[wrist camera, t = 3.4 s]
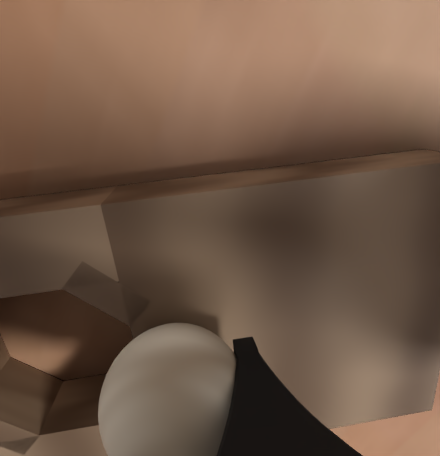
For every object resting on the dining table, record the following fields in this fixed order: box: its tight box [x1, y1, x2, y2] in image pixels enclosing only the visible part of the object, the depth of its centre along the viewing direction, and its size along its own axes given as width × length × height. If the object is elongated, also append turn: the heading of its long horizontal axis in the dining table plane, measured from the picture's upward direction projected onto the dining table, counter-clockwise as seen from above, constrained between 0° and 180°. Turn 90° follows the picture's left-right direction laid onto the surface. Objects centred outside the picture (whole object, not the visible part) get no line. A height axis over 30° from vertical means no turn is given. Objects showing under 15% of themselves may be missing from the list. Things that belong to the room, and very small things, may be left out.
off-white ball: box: [98, 323, 236, 456], centre depth 11 cm, size 5×5×5 cm
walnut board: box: [0, 149, 440, 456], centre depth 14 cm, size 23×13×3 cm, turn 96°
